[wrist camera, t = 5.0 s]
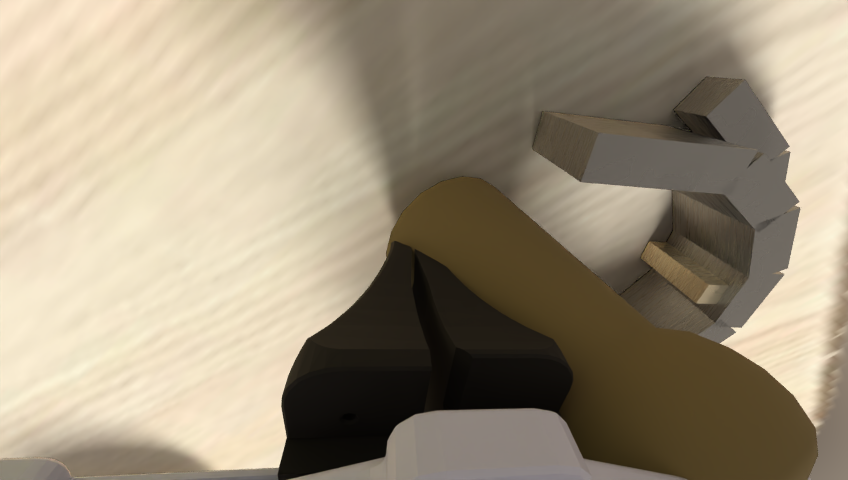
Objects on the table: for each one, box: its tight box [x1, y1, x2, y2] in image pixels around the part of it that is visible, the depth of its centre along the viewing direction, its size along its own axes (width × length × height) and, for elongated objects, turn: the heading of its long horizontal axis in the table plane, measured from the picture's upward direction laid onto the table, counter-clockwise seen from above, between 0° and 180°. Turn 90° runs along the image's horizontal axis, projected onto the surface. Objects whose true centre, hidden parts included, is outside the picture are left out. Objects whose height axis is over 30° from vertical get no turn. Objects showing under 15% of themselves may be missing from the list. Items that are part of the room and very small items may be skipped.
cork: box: [386, 176, 818, 480], centre depth 10 cm, size 6×6×11 cm
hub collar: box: [532, 77, 800, 343], centre depth 15 cm, size 16×12×4 cm
